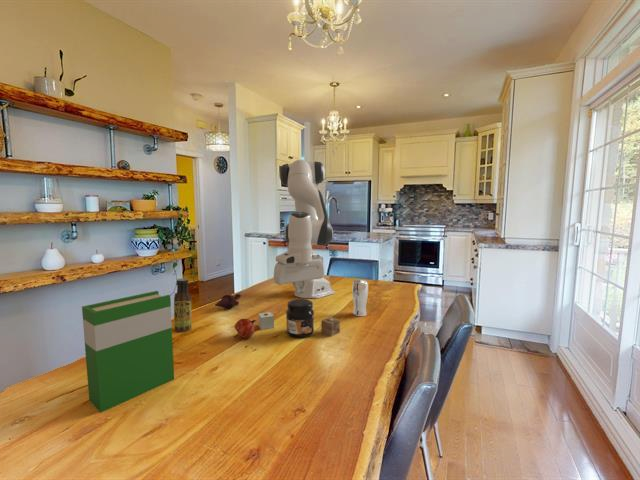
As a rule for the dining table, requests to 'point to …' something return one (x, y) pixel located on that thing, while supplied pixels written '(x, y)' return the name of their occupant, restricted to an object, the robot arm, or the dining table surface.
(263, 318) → the sage cube
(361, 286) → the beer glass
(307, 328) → the supplement container
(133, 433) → the dining table surface
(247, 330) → the pomegranate
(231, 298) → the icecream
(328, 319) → the walnut cube
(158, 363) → the hardback book
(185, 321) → the sauce bottle
